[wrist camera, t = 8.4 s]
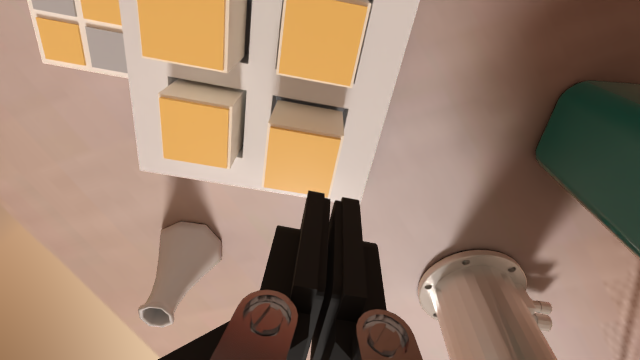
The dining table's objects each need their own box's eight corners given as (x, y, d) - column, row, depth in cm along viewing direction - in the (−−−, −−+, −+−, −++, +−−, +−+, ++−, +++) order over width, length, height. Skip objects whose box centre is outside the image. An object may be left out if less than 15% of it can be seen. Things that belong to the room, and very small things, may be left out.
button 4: (246, 87, 28) (231, 108, 24) (243, 143, 31) (228, 171, 27) (183, 75, 28) (155, 94, 23) (185, 133, 30) (161, 160, 26)
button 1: (365, -3, 24) (371, 3, 20) (349, 70, 27) (352, 89, 23) (293, -17, 24) (284, -14, 20) (284, 58, 27) (275, 75, 23)
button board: (420, -48, 24) (434, -51, 21) (356, 183, 35) (359, 206, 32) (137, -108, 23) (103, -121, 20) (159, 150, 34) (139, 170, 30)
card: (130, -27, 26) (125, -27, 25) (141, 78, 30) (137, 80, 29) (21, -49, 25) (12, -49, 25) (47, 61, 29) (41, 63, 29)
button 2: (342, 111, 27) (344, 138, 23) (330, 167, 30) (329, 200, 26) (277, 99, 27) (267, 124, 23) (271, 157, 30) (260, 189, 25)
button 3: (248, -25, 22) (228, -23, 18) (244, 56, 25) (225, 74, 21) (168, -41, 22) (129, -43, 18) (172, 43, 25) (139, 58, 21)
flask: (151, 223, 39) (100, 294, 30) (211, 216, 38) (176, 287, 29) (176, 268, 43) (137, 343, 34) (231, 262, 42) (205, 337, 33)
